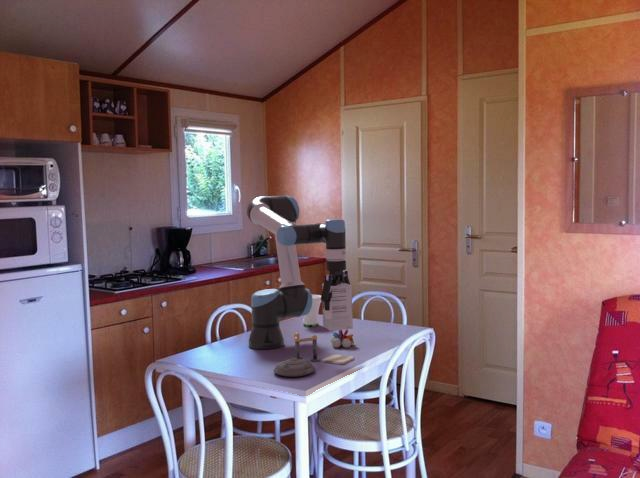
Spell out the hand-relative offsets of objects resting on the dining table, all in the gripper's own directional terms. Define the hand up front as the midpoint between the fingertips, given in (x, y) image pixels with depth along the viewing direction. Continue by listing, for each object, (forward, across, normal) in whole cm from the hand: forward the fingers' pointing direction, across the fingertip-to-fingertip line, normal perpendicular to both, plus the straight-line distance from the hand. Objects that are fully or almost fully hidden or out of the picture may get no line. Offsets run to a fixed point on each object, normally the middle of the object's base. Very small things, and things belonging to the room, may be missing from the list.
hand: (337, 315), depth 233 cm
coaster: (+18, 0, 0) cm, 18 cm away
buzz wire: (+17, -7, +12) cm, 22 cm away
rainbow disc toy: (+18, +20, +9) cm, 28 cm away
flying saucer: (+18, -21, +6) cm, 28 cm away
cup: (+18, +48, +42) cm, 66 cm away
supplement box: (+5, 0, 0) cm, 5 cm away
